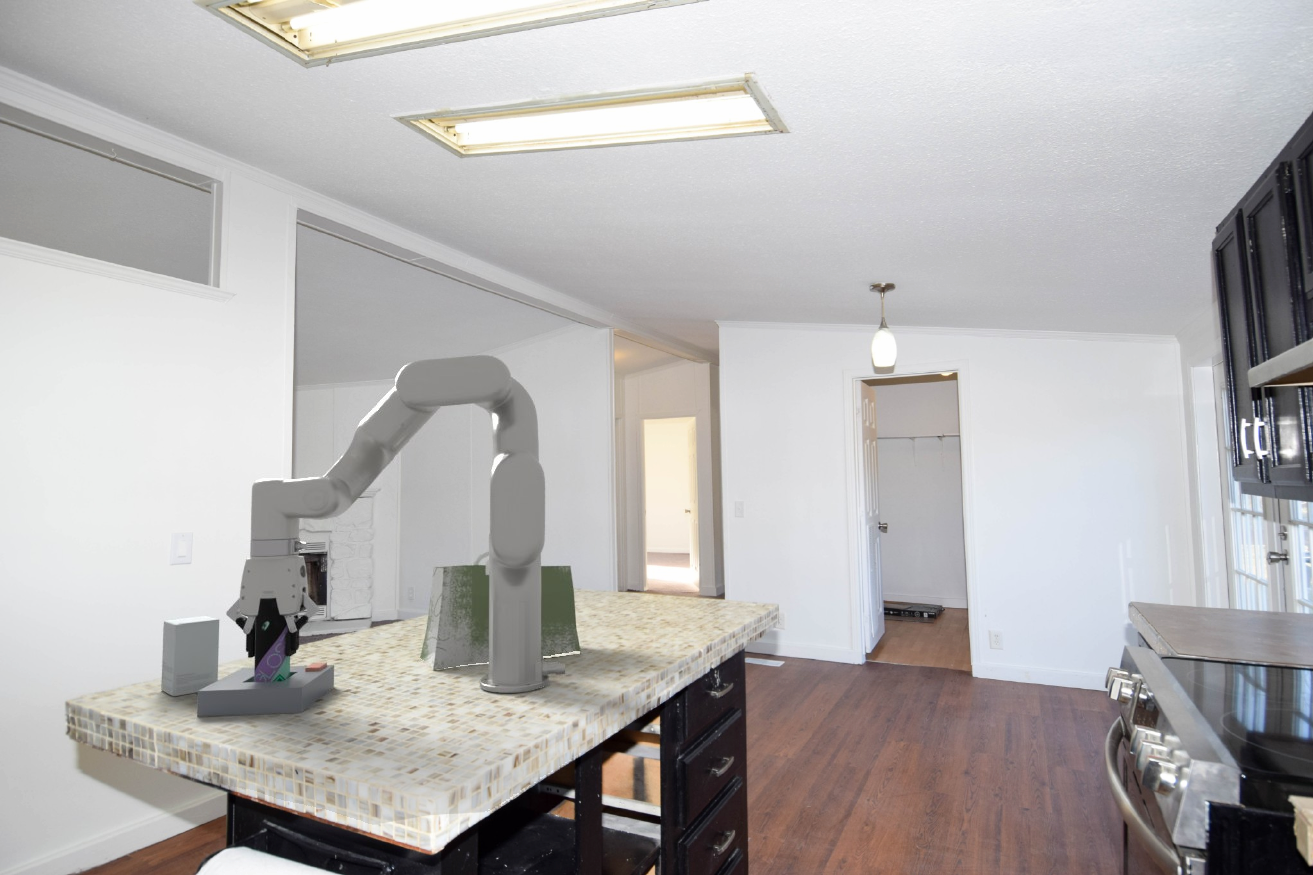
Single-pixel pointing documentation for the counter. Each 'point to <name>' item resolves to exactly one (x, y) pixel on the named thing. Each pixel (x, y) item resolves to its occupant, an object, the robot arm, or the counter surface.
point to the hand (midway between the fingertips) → (272, 654)
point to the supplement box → (189, 654)
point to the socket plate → (266, 692)
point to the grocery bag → (465, 614)
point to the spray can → (270, 642)
